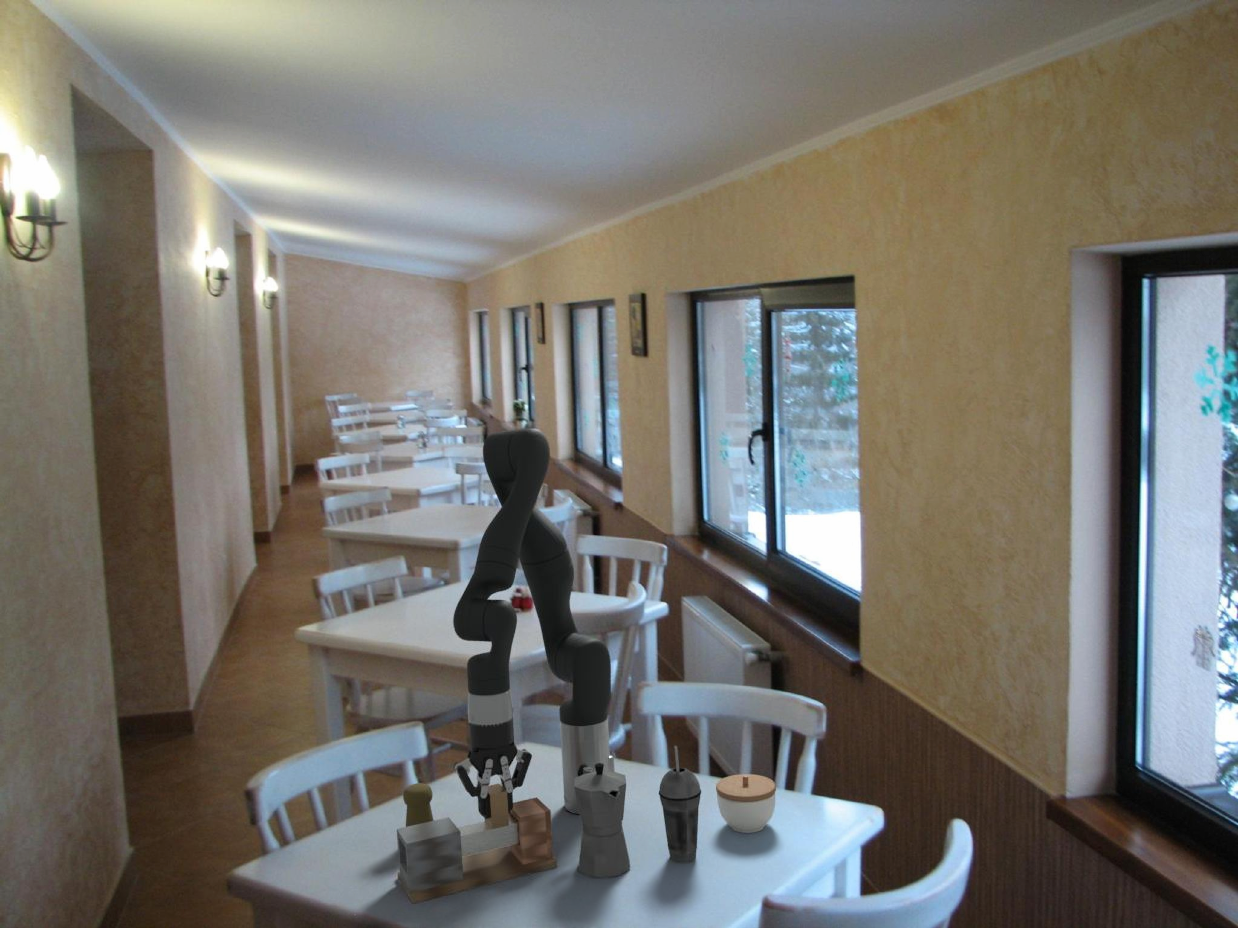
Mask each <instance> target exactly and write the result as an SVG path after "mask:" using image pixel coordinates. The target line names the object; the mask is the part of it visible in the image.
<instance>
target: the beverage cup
mask: <svg viewBox="0 0 1238 928" xmlns="http://www.w3.org/2000/svg"><path fill="white" fill-rule="evenodd" d="M673 749H674V756H675V767H673V768H672V769H670V770H668V771H667V772H666V773H665V774H664V775H663V776H662V778H661V781H660V785H659V789H658V795H659V799H660V803H661V804H660V805H661V807H662V812H663V820H664V826H665V827H664V828H665V834H666V836H665V837H666V841H667V842H666V843H667V850H668V853H669V858H670V859H669V860H671V861H672V862H674V863H677V864H688V863H691V862H694V860H696V859H697V850H698V831H699V830H698V829H699V807H700V802H701V794H702V789H701V786H700V782H699V779H698V778H697V776H696V775H695V774H694V772H692V771H691V770H689V769H688V768H685V767H680V764H679V763H680V762H679V751H678V749H679V748H678V745H674V747H673Z"/></svg>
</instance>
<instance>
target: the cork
mask: <svg viewBox="0 0 1238 928" xmlns="http://www.w3.org/2000/svg"><path fill="white" fill-rule="evenodd" d="M433 796H434V795H433V790H432V788H431V786H430V785H428V784H427V783H421V782H420V783H419V782H418V783H413V784H410V785H408V786H407V787H406V788H405V789H404V791H403V794H402V798H403V799H402V800H403V802H404V804H405V806H406V817H405V827H408V826H413V825H417V824H421V823H426V822H430V821H435V820H434V816H433V812H432V807H431V802H432V800H433Z"/></svg>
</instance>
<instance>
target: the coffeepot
mask: <svg viewBox="0 0 1238 928" xmlns="http://www.w3.org/2000/svg"><path fill="white" fill-rule="evenodd" d="M603 767H604V764H602V763H597V764H595V770H596V772H594V769H593V768H591V767H588V766H587V765H586V764H582V765H581V766H580V767H579V770H578V777H576V778H574V788H575V793H576V798H577V803H578V808H579V813H580V814H579V816H580V823H582V830H581V831H582V832H581V842H580V851H579V860H578V868H579V869H578V870H579V872H580V873H581V874H582V875H584V876H587V877H589V878H593V879H594V878H595V879H608V878H613V877H618V876H620V875H621V876H622V874H625V873H626V872H627V871H628V870H629V869H630V868H631V863H630V862H631V861H630V855H629V852H628V851H629V850H628V846H627V841H626V838H625V831H624V828H623V820H624V815H625V814H624V812H625V805H626V804H625V801H626V792H627V779H626V774H622V773H619V772H616V771H615V772H613V771H603Z"/></svg>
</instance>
